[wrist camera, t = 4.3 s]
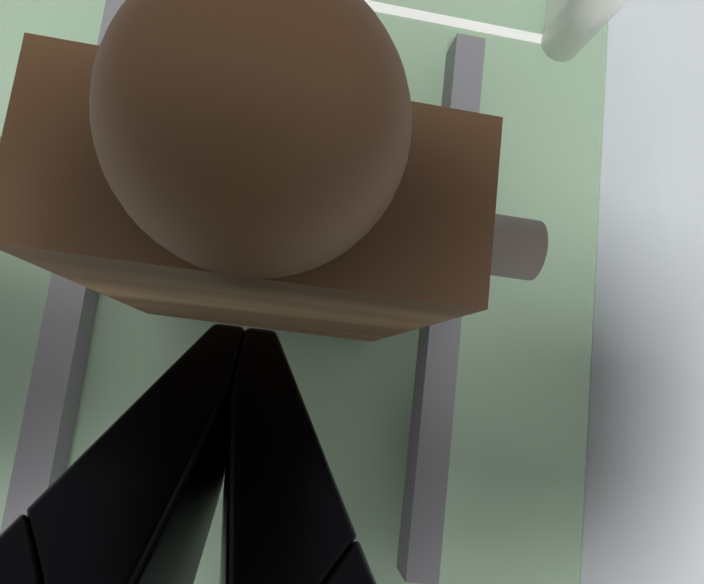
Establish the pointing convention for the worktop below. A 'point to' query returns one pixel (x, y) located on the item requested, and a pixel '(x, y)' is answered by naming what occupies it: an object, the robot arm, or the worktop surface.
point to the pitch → (381, 355)
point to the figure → (255, 172)
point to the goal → (556, 40)
